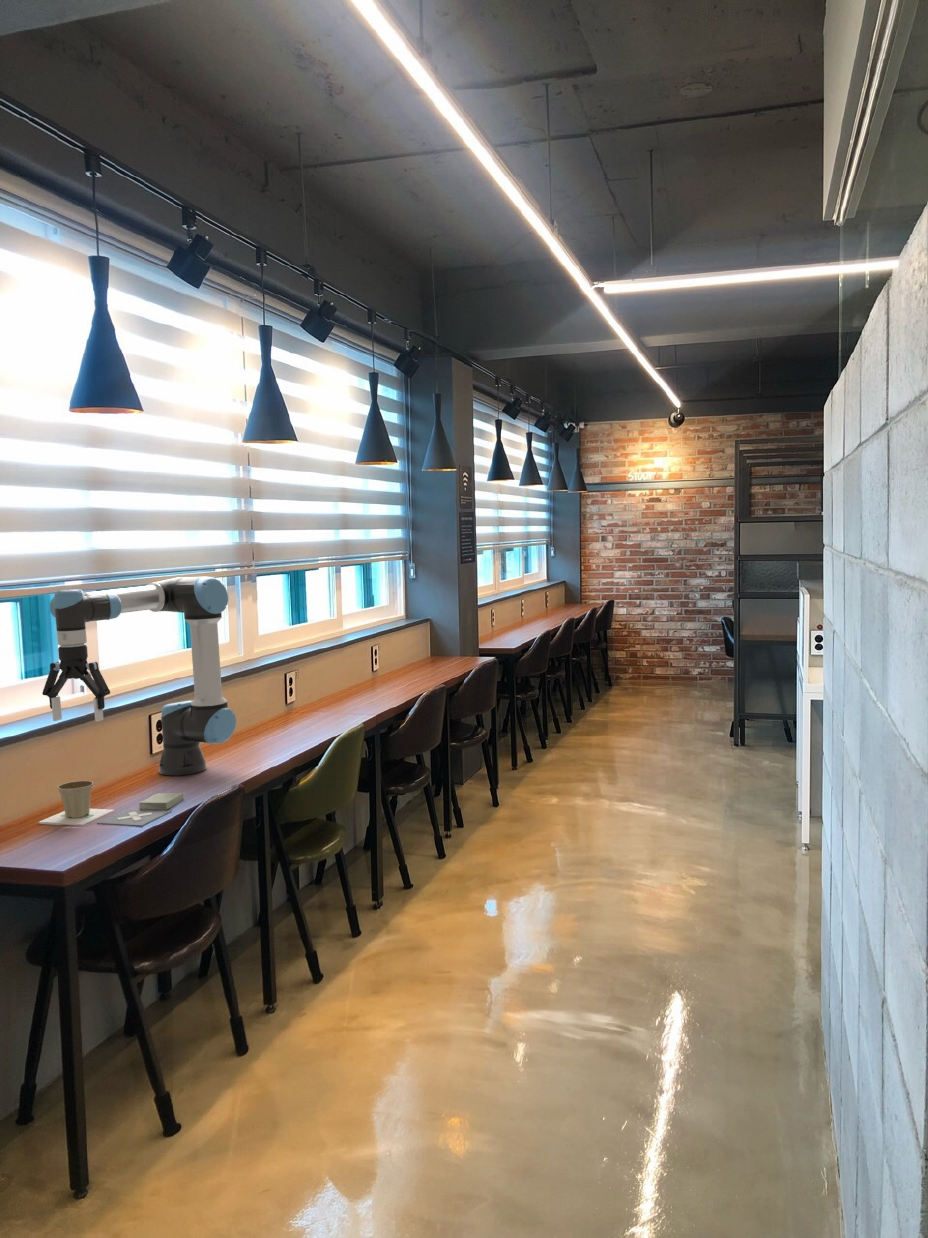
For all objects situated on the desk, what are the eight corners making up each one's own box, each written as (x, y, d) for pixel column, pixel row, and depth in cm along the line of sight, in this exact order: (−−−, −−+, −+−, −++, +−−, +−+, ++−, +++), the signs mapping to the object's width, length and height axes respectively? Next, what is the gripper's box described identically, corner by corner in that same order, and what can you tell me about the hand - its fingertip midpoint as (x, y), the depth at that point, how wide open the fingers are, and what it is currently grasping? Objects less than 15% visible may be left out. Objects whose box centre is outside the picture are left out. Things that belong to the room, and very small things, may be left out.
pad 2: (128, 810, 270) (128, 807, 270) (171, 812, 267) (171, 810, 266) (97, 825, 257) (96, 822, 257) (142, 827, 253) (142, 824, 253)
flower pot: (52, 816, 263) (50, 786, 263) (84, 808, 271) (82, 778, 270) (70, 822, 258) (68, 790, 257) (102, 813, 265) (100, 783, 264)
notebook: (157, 800, 280) (156, 793, 280) (183, 800, 280) (183, 793, 280) (139, 809, 268) (139, 802, 268) (166, 809, 268) (166, 802, 268)
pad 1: (72, 809, 273) (72, 807, 273) (114, 812, 269) (114, 809, 269) (38, 823, 259) (38, 821, 259) (82, 826, 256) (82, 823, 256)
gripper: (24, 647, 263) (31, 722, 265) (103, 646, 257) (108, 723, 259) (43, 643, 271) (49, 717, 273) (119, 643, 264) (125, 718, 266)
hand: (78, 720), depth 266 cm, fingers open, 13 cm apart
